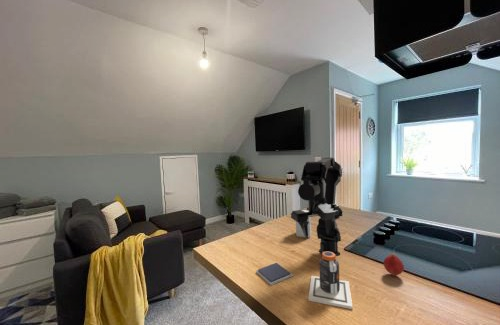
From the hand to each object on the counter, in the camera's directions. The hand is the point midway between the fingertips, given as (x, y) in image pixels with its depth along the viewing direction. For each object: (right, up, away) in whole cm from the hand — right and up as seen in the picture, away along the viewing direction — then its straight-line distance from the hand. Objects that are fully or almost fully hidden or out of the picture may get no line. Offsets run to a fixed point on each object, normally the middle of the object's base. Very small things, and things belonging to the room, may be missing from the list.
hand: (317, 236), depth 78 cm
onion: (+25, -12, -5) cm, 28 cm away
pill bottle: (0, -13, -12) cm, 17 cm away
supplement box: (+4, -12, +35) cm, 37 cm away
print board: (0, -14, -12) cm, 18 cm away
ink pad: (-16, -14, -1) cm, 22 cm away
